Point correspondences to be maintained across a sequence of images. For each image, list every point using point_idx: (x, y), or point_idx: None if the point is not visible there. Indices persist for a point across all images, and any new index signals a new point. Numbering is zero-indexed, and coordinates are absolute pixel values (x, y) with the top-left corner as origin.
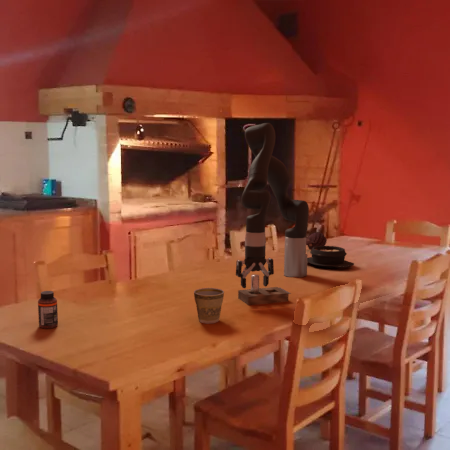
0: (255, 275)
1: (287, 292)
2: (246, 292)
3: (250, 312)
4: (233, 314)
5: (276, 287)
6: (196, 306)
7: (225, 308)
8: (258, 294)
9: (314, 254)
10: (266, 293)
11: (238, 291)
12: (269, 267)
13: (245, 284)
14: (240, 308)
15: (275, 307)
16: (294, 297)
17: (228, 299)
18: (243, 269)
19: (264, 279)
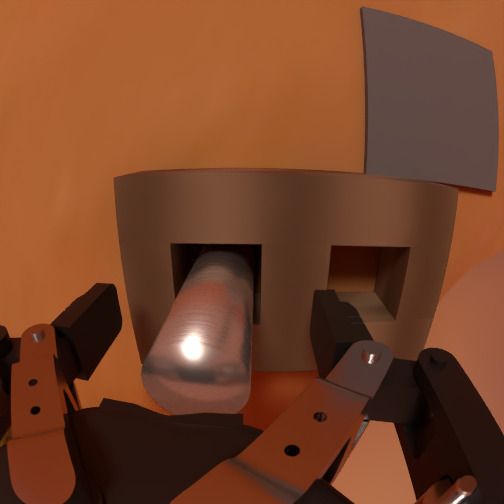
0: (195, 394)
1: (492, 163)
2: (154, 266)
3: (147, 402)
4: (81, 392)
5: (448, 202)
6: None
7: (53, 317)
8: None
9: None
10: (293, 337)
11: (118, 181)
12: (425, 451)
13: (105, 345)
14: (113, 344)
15: (288, 385)
16: (476, 251)
17: (88, 158)
18: (13, 370)
19: (323, 347)
